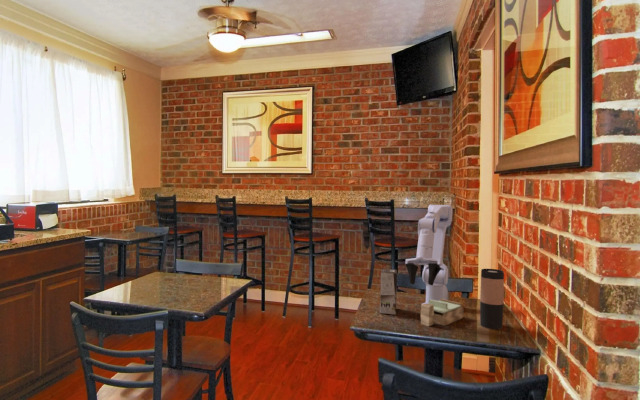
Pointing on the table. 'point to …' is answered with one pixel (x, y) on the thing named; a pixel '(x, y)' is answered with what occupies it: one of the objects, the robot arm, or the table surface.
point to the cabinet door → (443, 306)
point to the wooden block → (427, 314)
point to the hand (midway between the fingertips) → (421, 284)
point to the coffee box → (388, 291)
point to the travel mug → (491, 298)
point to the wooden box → (447, 314)
